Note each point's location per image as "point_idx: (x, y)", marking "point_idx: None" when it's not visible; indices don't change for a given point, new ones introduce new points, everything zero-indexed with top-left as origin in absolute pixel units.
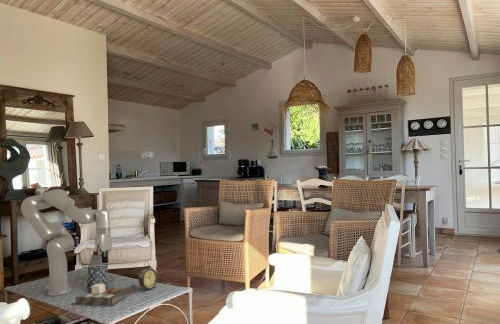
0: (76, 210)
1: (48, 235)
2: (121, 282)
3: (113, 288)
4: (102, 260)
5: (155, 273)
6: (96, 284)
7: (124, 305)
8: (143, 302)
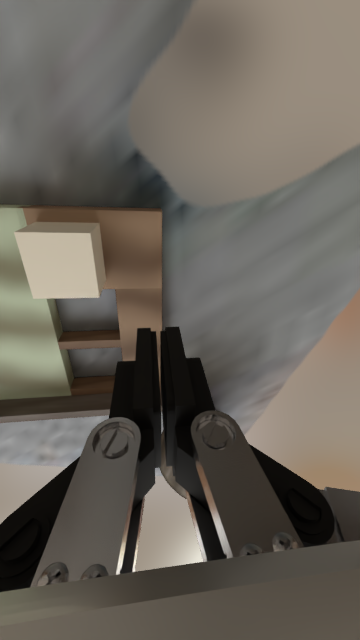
0: None
1: None
2: (324, 231)
3: (153, 300)
4: (116, 378)
5: None
6: (66, 245)
7: (15, 423)
8: (65, 452)
